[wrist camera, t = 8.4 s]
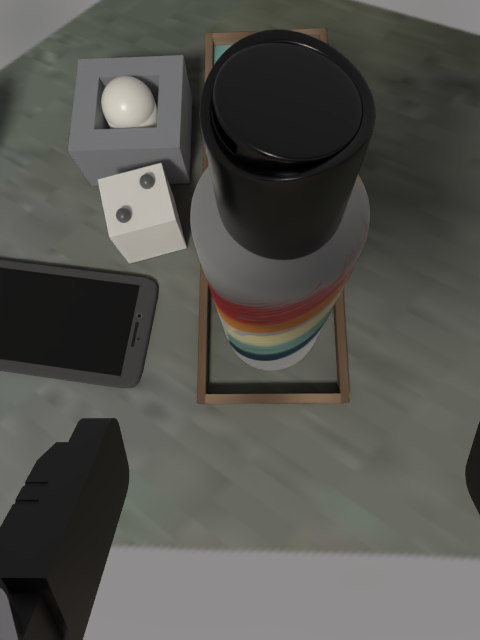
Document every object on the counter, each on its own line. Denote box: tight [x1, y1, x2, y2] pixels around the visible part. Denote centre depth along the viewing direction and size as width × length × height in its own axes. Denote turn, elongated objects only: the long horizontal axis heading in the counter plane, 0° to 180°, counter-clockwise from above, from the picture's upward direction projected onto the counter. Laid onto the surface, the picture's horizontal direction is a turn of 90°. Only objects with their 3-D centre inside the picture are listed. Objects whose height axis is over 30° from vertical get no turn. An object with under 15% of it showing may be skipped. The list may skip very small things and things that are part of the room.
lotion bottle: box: [190, 29, 376, 370], centre depth 19 cm, size 6×6×20 cm
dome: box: [101, 76, 158, 129], centre depth 29 cm, size 3×3×5 cm
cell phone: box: [0, 260, 158, 388], centre depth 29 cm, size 7×14×1 cm, turn 82°
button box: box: [68, 55, 193, 186], centre depth 30 cm, size 7×7×4 cm
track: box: [197, 28, 350, 404], centre depth 30 cm, size 9×28×1 cm, turn 0°
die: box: [98, 163, 187, 263], centre depth 28 cm, size 4×4×5 cm
